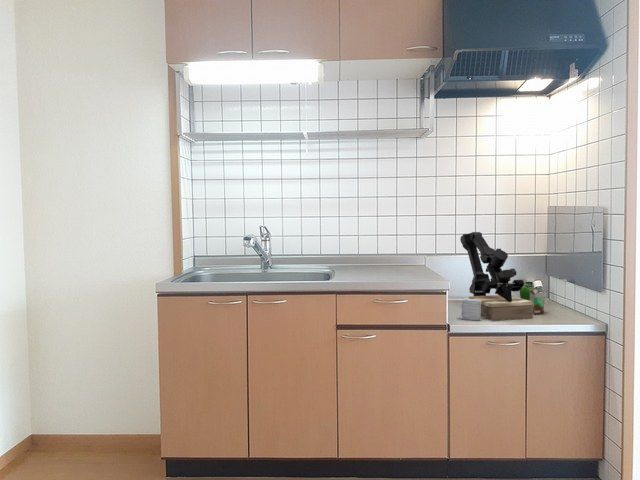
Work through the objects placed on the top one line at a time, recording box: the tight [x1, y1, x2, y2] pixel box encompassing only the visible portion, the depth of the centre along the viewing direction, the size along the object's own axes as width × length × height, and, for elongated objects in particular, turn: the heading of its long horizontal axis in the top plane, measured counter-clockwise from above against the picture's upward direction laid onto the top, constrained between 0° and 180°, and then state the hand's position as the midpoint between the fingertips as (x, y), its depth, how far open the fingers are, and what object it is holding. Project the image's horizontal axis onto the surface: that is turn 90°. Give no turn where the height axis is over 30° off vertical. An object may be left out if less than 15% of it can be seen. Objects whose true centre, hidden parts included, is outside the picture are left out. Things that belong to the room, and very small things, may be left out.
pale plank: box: [480, 296, 533, 307], centre depth 231 cm, size 12×20×2 cm, turn 104°
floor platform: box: [468, 294, 534, 322], centre depth 235 cm, size 20×20×7 cm
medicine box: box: [461, 298, 482, 321], centre depth 226 cm, size 8×4×9 cm, turn 71°
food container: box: [530, 288, 548, 315], centre depth 239 cm, size 12×6×10 cm, turn 168°
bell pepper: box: [519, 283, 537, 301], centre depth 259 cm, size 8×8×10 cm
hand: (510, 301), depth 227 cm, fingers closed, pressing on pale plank
